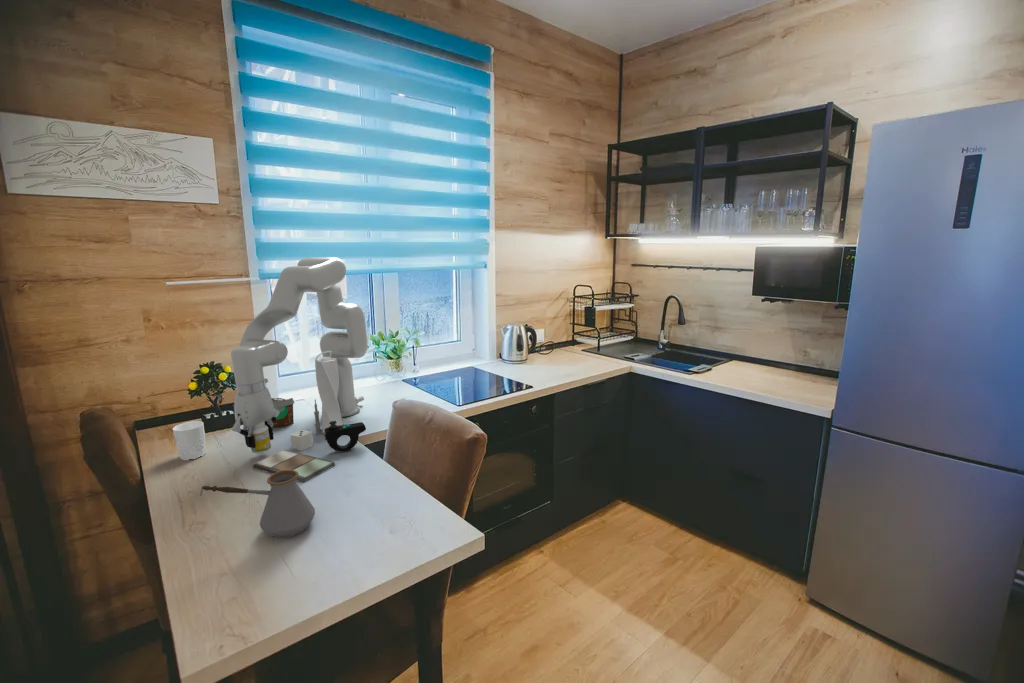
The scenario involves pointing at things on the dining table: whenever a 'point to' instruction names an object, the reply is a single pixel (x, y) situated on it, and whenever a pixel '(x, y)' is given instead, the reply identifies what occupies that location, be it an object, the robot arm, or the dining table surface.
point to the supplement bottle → (261, 438)
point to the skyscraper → (327, 393)
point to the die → (301, 439)
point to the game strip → (294, 464)
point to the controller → (342, 430)
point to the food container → (283, 412)
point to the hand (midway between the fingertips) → (260, 442)
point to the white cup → (190, 439)
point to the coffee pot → (280, 504)
